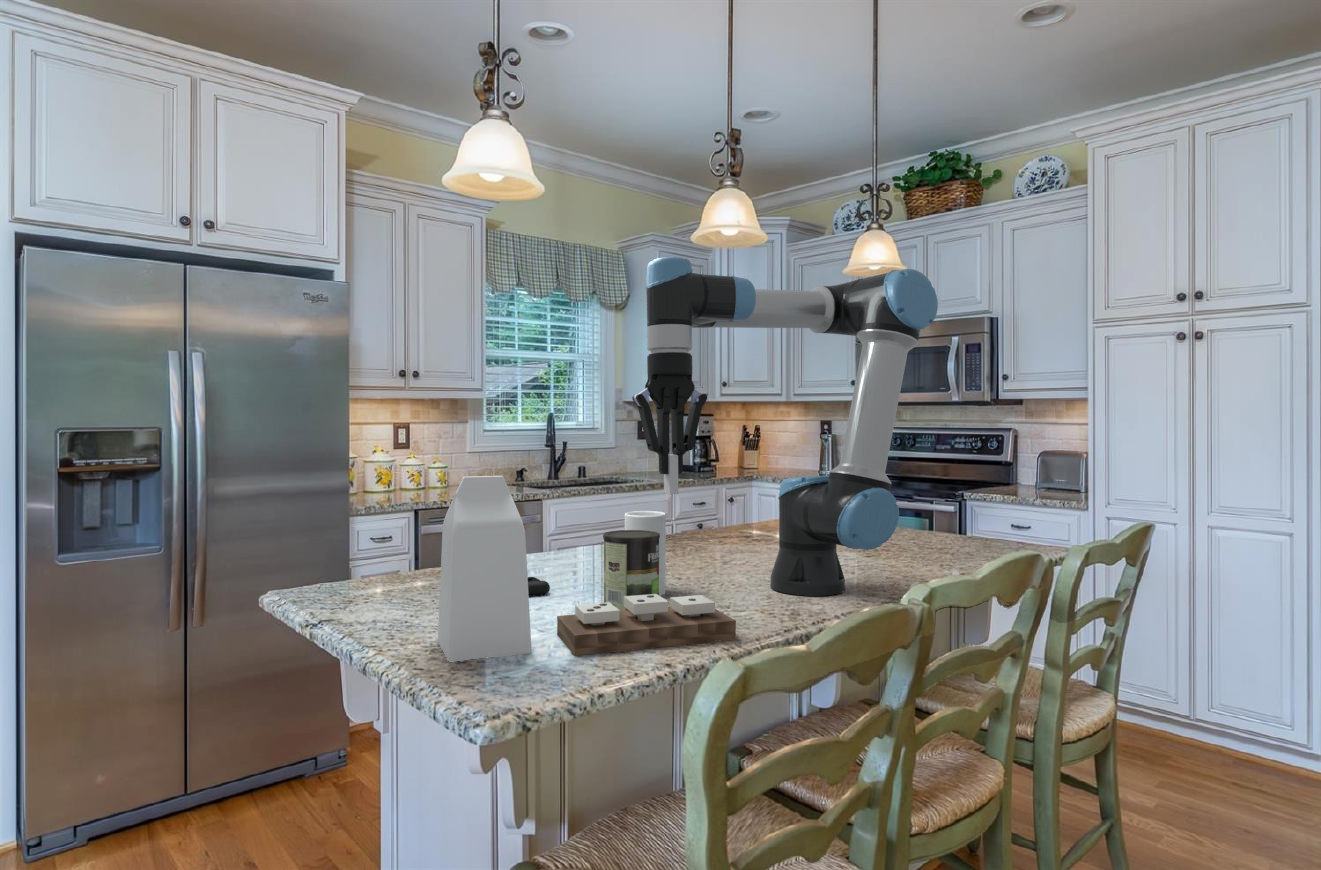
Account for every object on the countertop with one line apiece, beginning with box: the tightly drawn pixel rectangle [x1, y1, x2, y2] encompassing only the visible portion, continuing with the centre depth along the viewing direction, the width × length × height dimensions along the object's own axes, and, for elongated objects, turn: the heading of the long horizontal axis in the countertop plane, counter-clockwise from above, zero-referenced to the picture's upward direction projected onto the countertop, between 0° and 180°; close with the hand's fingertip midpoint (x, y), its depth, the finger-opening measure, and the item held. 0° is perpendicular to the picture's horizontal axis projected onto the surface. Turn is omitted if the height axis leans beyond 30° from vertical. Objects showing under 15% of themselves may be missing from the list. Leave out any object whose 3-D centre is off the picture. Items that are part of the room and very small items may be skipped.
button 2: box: [624, 594, 669, 621], centre depth 123 cm, size 6×6×4 cm
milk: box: [437, 475, 533, 663], centre depth 117 cm, size 12×12×26 cm
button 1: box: [669, 594, 716, 617], centre depth 126 cm, size 6×6×4 cm
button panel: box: [556, 606, 737, 657], centre depth 123 cm, size 26×12×3 cm, turn 110°
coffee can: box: [602, 529, 660, 611], centre depth 140 cm, size 10×10×14 cm
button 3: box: [574, 602, 619, 626], centre depth 120 cm, size 6×6×4 cm
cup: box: [624, 510, 667, 597], centre depth 155 cm, size 8×8×16 cm
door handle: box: [528, 576, 551, 598], centre depth 155 cm, size 3×20×16 cm
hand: (671, 493), depth 130 cm, fingers closed
